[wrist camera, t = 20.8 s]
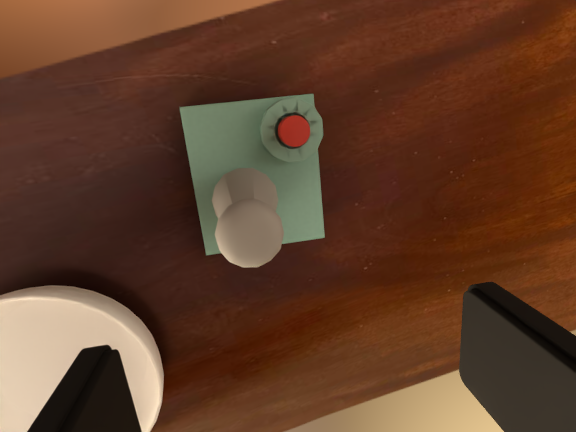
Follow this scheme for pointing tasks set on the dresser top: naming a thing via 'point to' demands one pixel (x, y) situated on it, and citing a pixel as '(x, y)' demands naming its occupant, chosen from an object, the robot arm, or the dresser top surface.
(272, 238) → the salt shaker
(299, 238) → the green flat block
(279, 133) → the button
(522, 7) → the dresser top surface
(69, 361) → the bowl
